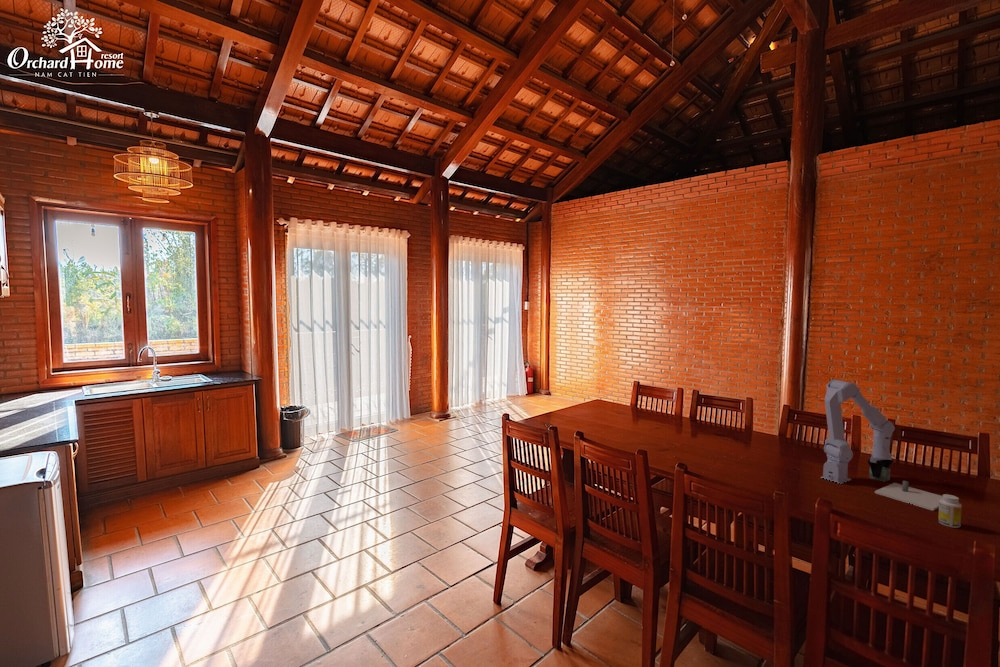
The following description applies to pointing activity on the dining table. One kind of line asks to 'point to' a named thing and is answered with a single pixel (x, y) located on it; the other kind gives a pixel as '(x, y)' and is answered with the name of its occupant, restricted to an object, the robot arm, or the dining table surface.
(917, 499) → the pin plate
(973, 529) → the dining table surface
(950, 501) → the supplement bottle
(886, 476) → the collar
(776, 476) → the dining table surface
